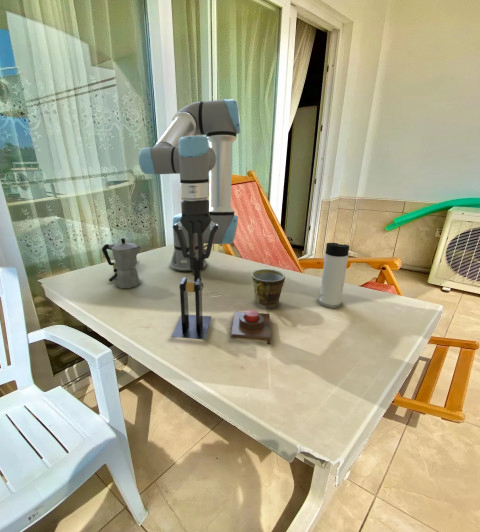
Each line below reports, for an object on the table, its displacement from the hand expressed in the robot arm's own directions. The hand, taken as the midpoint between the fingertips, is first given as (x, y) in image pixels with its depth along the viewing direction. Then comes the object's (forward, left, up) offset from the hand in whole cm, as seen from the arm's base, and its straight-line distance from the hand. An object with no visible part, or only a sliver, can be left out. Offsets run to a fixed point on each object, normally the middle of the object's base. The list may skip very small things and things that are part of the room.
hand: (197, 280), depth 89 cm
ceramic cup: (-8, +20, -11) cm, 24 cm away
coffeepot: (-19, -32, -11) cm, 39 cm away
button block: (+7, +16, -11) cm, 21 cm away
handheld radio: (-31, -38, -11) cm, 50 cm away
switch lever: (+5, 0, -2) cm, 5 cm away
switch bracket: (+9, 0, -11) cm, 14 cm away
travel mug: (-12, +40, -11) cm, 43 cm away
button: (+7, +16, -8) cm, 19 cm away
